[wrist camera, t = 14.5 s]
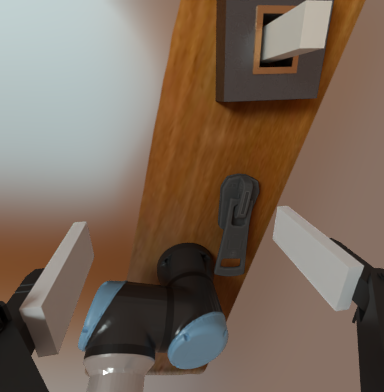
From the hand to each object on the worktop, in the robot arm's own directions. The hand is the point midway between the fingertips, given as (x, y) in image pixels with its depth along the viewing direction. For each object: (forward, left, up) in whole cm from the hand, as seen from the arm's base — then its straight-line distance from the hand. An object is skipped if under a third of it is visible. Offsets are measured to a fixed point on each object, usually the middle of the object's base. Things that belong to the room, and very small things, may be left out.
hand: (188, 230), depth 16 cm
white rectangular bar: (+16, -20, -35) cm, 44 cm away
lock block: (+16, -20, -35) cm, 44 cm away
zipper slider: (-21, -15, -36) cm, 44 cm away
